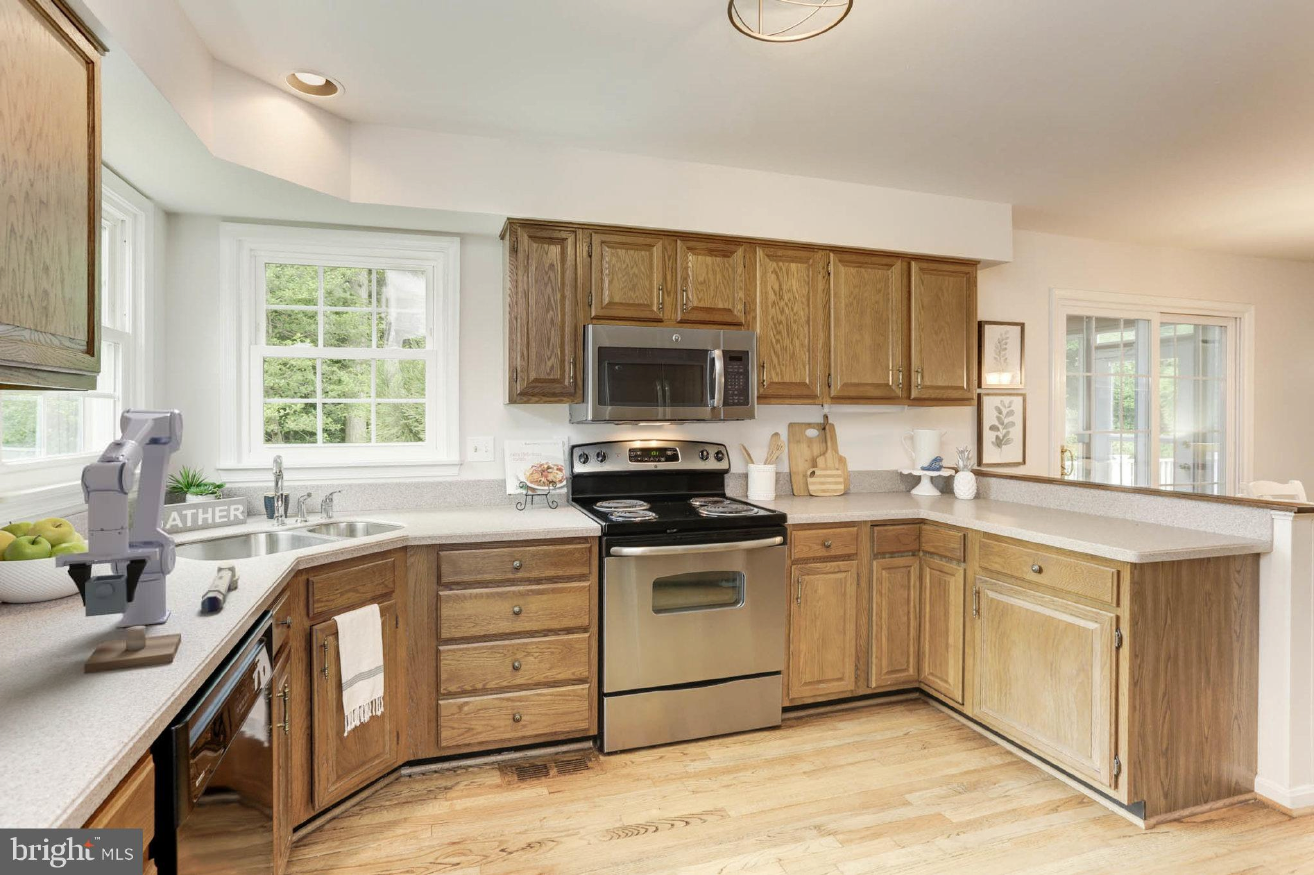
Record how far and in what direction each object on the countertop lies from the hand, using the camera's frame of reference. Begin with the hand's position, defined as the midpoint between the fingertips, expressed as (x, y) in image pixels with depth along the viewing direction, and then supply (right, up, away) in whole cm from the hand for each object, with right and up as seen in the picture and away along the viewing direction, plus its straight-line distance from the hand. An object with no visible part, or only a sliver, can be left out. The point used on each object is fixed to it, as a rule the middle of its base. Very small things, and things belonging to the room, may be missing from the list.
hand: (109, 603), depth 125 cm
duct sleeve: (0, -1, 0) cm, 1 cm away
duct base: (+7, -9, -3) cm, 12 cm away
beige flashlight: (-2, -8, +35) cm, 36 cm away
